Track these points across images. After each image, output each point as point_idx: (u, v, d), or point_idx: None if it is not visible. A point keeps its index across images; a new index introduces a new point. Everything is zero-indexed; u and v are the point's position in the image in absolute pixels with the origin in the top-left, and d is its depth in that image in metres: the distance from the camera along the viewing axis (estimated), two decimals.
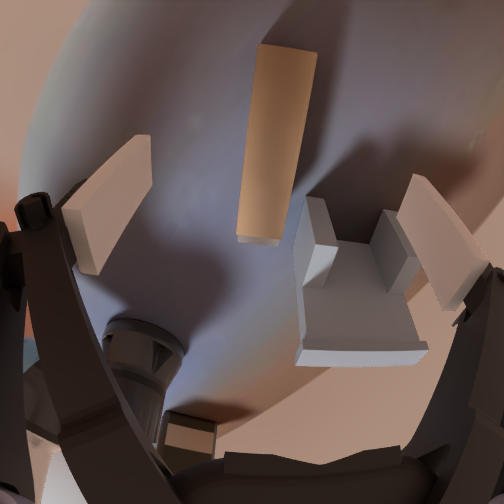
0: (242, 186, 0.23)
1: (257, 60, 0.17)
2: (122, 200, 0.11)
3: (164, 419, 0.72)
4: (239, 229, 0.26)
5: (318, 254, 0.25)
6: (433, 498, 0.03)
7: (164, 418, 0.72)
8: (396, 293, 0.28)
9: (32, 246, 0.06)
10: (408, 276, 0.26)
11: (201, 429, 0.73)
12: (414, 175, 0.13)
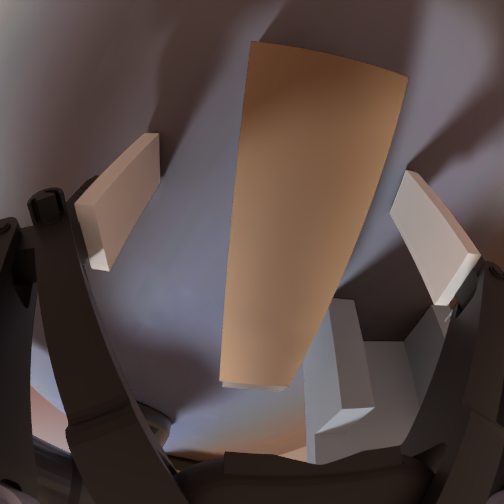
0: (224, 335, 0.13)
1: (249, 89, 0.06)
2: (133, 197, 0.11)
3: None
4: (224, 377, 0.16)
5: (343, 415, 0.14)
6: (430, 497, 0.03)
7: None
8: None
9: (44, 241, 0.07)
10: None
11: None
12: (407, 171, 0.13)
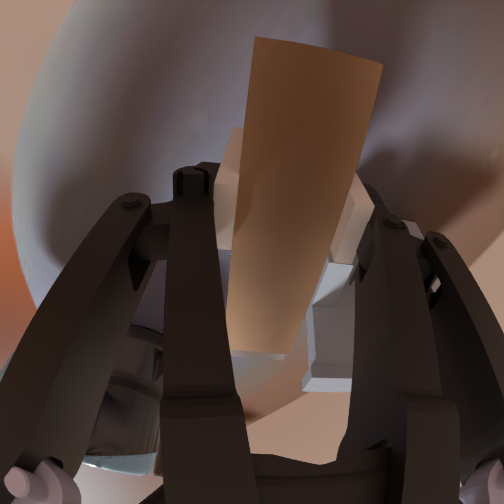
0: (229, 297, 0.14)
1: (253, 75, 0.08)
2: None
3: None
4: None
5: (331, 272, 0.22)
6: (392, 502, 0.03)
7: None
8: None
9: (183, 215, 0.08)
10: None
11: None
12: None
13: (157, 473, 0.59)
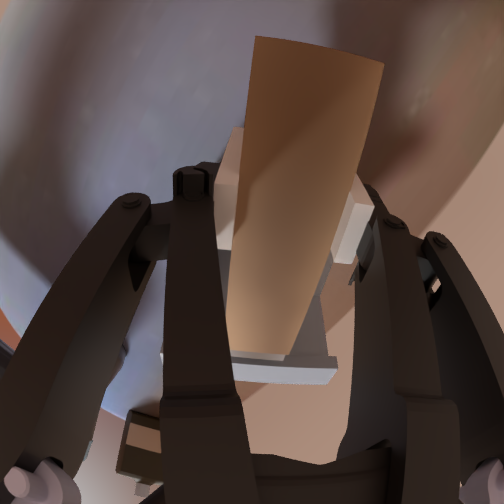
0: (229, 298, 0.14)
1: (253, 74, 0.08)
2: None
3: (127, 418, 0.68)
4: None
5: None
6: (392, 502, 0.03)
7: (127, 417, 0.69)
8: None
9: (182, 215, 0.08)
10: None
11: None
12: None
13: (117, 470, 0.56)
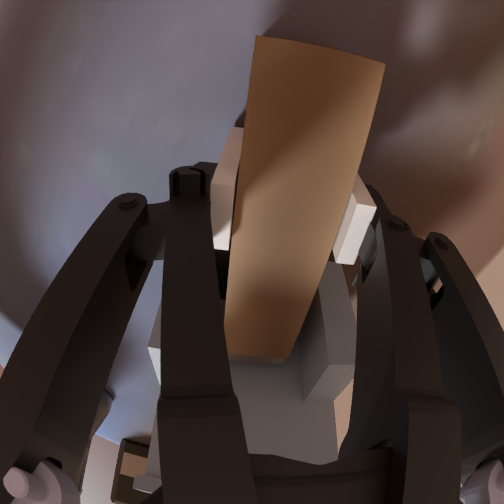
0: (228, 301, 0.14)
1: (254, 74, 0.08)
2: None
3: (120, 447, 0.61)
4: None
5: None
6: (393, 502, 0.03)
7: (120, 446, 0.61)
8: (319, 400, 0.17)
9: (179, 215, 0.08)
10: (336, 384, 0.16)
11: None
12: None
13: (112, 500, 0.48)
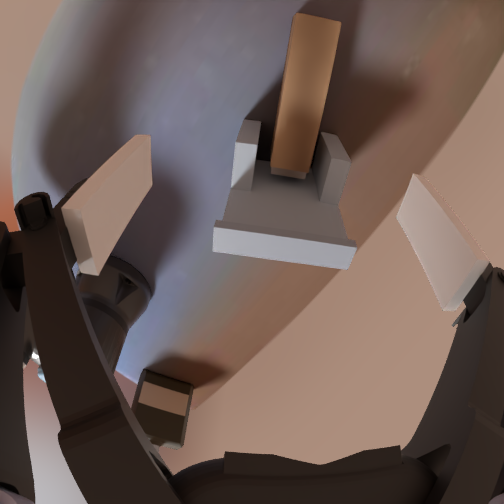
0: (278, 123, 0.27)
1: (295, 24, 0.20)
2: (122, 200, 0.11)
3: (140, 378, 0.75)
4: (273, 161, 0.29)
5: (240, 152, 0.27)
6: (433, 498, 0.03)
7: (140, 377, 0.76)
8: (329, 202, 0.30)
9: (32, 246, 0.06)
10: (338, 182, 0.28)
11: (176, 390, 0.76)
12: (414, 175, 0.13)
13: None
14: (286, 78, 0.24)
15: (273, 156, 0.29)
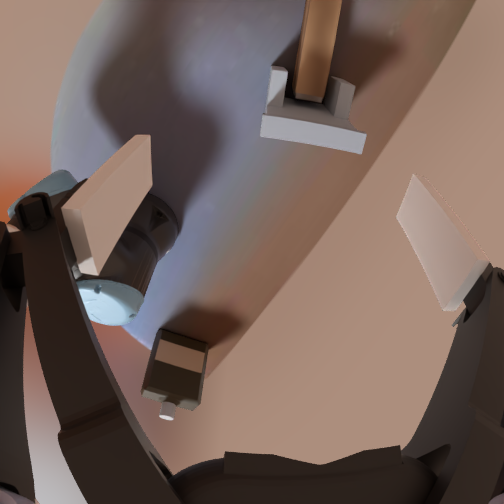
0: (301, 60, 0.33)
1: None
2: (122, 200, 0.11)
3: (156, 337, 0.81)
4: (297, 88, 0.36)
5: (275, 77, 0.33)
6: (433, 498, 0.03)
7: (156, 336, 0.81)
8: (341, 116, 0.36)
9: (32, 246, 0.06)
10: (346, 101, 0.35)
11: (192, 348, 0.82)
12: (414, 175, 0.13)
13: (144, 387, 0.68)
14: (306, 29, 0.30)
15: (297, 84, 0.35)
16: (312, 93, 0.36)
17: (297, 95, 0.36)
